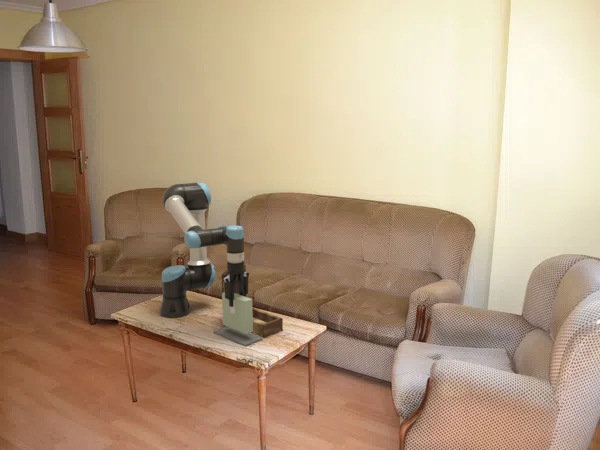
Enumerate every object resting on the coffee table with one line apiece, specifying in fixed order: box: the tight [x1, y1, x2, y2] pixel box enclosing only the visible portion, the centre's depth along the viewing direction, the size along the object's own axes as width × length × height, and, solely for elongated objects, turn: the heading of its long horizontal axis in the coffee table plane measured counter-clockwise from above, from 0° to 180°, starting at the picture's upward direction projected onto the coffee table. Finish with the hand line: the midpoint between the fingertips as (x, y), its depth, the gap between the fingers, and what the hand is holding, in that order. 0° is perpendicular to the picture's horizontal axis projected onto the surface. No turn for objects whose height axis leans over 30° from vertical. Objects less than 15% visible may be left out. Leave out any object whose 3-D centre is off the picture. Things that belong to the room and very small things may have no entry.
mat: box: [213, 326, 263, 347], centre depth 240 cm, size 22×10×1 cm, turn 47°
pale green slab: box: [221, 292, 253, 334], centre depth 238 cm, size 16×4×15 cm, turn 47°
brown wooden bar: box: [252, 318, 267, 337], centre depth 246 cm, size 17×4×5 cm, turn 47°
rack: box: [252, 307, 284, 339], centre depth 249 cm, size 20×12×6 cm, turn 47°
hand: (237, 311), depth 238 cm, fingers closed on pale green slab, 4 cm apart
